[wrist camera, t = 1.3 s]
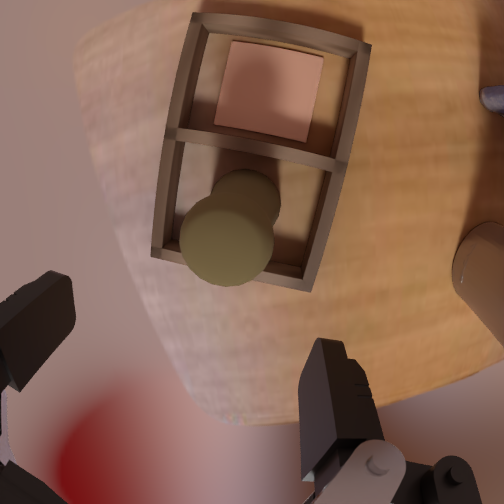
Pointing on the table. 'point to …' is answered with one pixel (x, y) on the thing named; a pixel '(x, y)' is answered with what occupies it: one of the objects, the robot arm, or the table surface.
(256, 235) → the cork
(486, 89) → the flask
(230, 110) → the caddy
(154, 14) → the table surface
